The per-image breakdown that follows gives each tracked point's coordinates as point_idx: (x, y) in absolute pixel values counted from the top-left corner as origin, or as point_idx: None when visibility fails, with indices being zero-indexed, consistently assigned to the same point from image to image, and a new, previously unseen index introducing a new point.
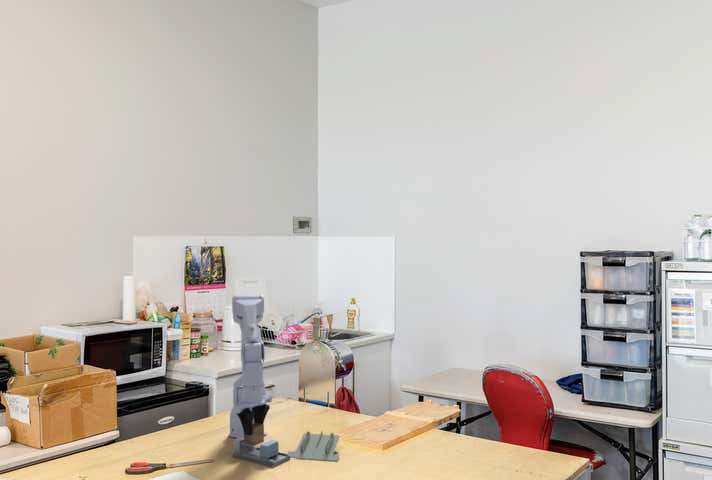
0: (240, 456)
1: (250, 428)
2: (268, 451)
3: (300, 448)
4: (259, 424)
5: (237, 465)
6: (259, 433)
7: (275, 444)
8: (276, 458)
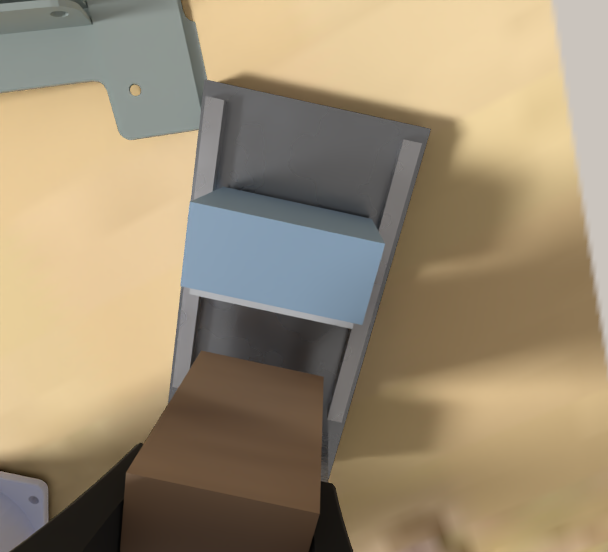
0: (345, 417)
1: (347, 549)
2: (351, 225)
3: (77, 7)
4: (150, 518)
5: (454, 375)
6: (241, 423)
7: (245, 208)
8: (314, 157)
